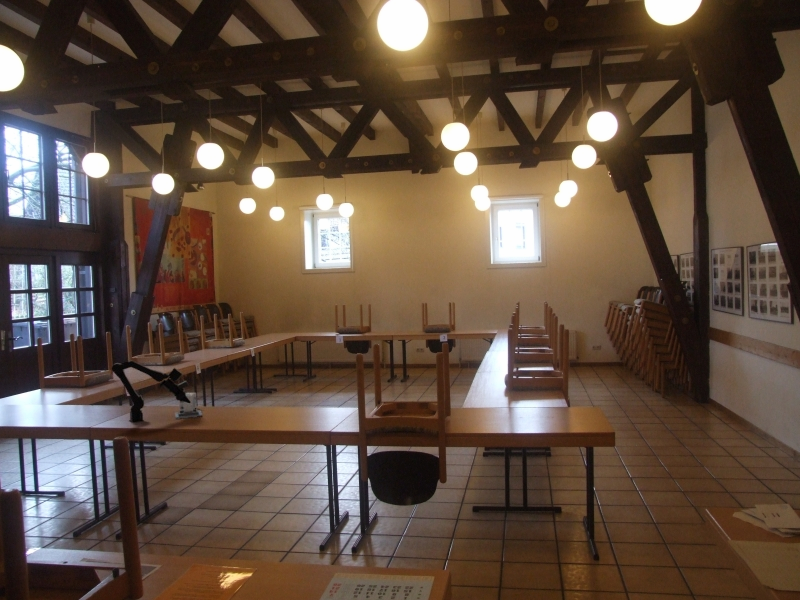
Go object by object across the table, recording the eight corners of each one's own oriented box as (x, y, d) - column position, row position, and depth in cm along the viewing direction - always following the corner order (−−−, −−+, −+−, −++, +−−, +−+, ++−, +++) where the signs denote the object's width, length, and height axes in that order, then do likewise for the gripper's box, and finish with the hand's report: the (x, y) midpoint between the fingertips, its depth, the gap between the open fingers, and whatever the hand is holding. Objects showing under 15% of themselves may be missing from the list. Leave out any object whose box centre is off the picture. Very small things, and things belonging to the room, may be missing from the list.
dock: (175, 419, 367) (175, 415, 367) (174, 414, 382) (174, 410, 381) (202, 416, 373) (201, 412, 373) (200, 412, 388) (200, 407, 388)
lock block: (183, 414, 374) (183, 396, 373) (183, 413, 379) (183, 394, 379) (192, 414, 376) (192, 395, 376) (192, 412, 381) (192, 394, 381)
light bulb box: (188, 411, 391) (188, 395, 391) (179, 411, 393) (179, 395, 393) (197, 408, 402) (196, 392, 402) (188, 407, 403) (187, 392, 403)
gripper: (180, 378, 367) (199, 394, 371) (180, 375, 384) (198, 390, 388) (167, 392, 364) (187, 408, 368) (167, 388, 381) (186, 403, 385)
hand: (190, 401), depth 378 cm, fingers open, 6 cm apart
